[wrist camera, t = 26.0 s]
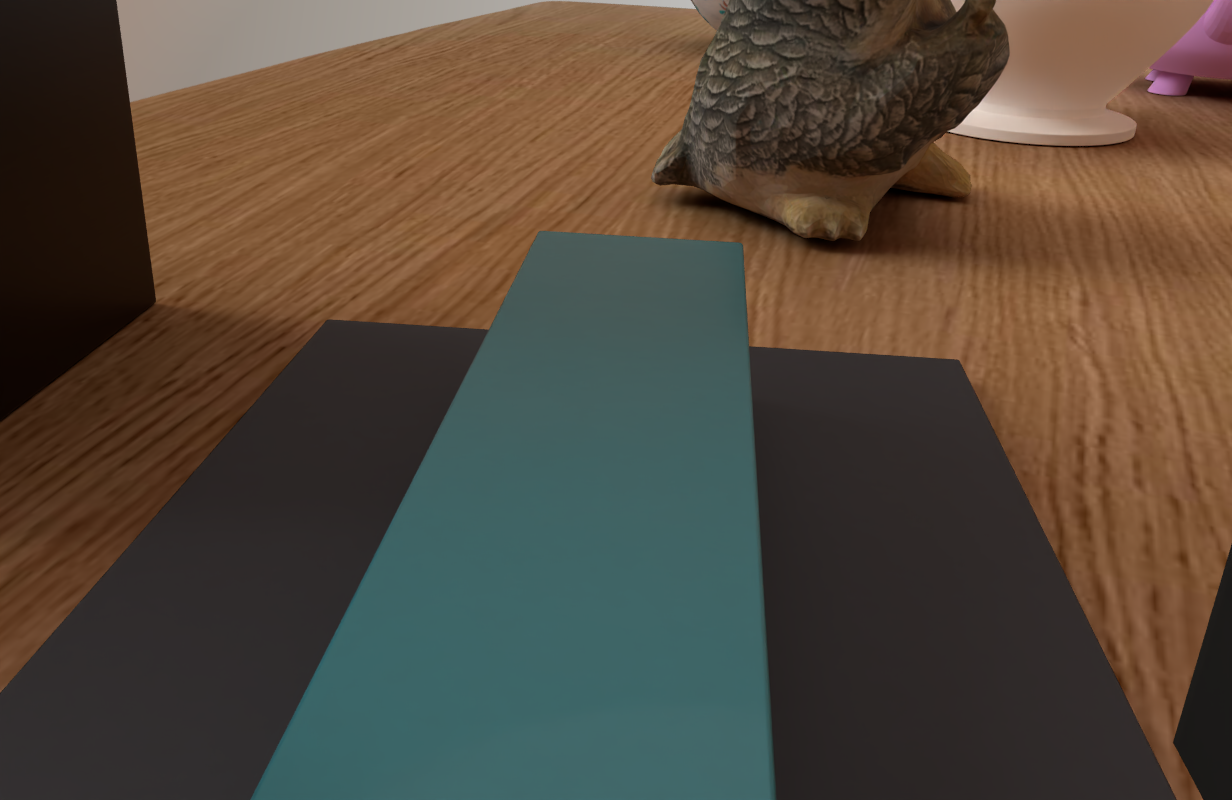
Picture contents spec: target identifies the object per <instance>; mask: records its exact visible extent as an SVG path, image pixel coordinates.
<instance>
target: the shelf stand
mask: <svg viewBox="0 0 1232 800" xmlns="http://www.w3.org/2000/svg"><path fill="white" fill-rule="evenodd" d="M155 302H156V297H155V289H154V282H153V274H152V267H151V259H150V252H149V244H148V236H147V229H146V221H145V214H144V206H143V199H142V191H141V183H140V176H139V168H138V161H137V153H136V146H135V138H134V131H133V123H132V115H131V108H130V101H129V93H128V85H127V78H126V70H125V62H124V56H123V47H122V40H121V32H120V25H119V18H118V10H117V2H116V0H0V420H1V419H3V418H4V417H5V416H7V415H8V414H9V413H11V412H12V411H13V410H15V409H16V408H17V407H19V406H20V405H21V404H22V403H24V402H25V401H26V400H28V399H29V398H30V397H32V396H33V395H34V394H36V393H37V392H38V391H40V390H41V389H42V388H43V387H45V386H46V385H47V384H49V383H50V382H51V381H53V380H54V379H55V378H57V377H58V376H59V375H61V374H62V373H63V372H64V371H66V370H67V369H68V368H70V367H71V366H72V365H74V364H75V363H76V362H78V361H79V360H80V359H82V358H83V357H84V356H85V355H87V354H88V353H89V352H91V351H92V350H93V349H95V348H96V347H97V346H99V345H100V344H101V343H103V342H104V341H105V340H107V339H108V338H109V337H110V336H112V335H113V334H114V333H116V332H117V331H118V330H120V329H121V328H122V327H124V326H125V325H126V324H128V323H129V322H130V321H131V320H133V319H134V318H135V317H137V316H138V315H139V314H141V313H142V312H143V311H145V310H146V309H147V308H149V307H150V306H151V305H152V304H154V303H155Z"/></svg>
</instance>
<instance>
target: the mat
mask: <svg viewBox="0 0 1232 800" xmlns="http://www.w3.org/2000/svg"><path fill="white" fill-rule="evenodd" d="M488 331H489V330H485V329H469V328H453V327H438V326H422V325H406V324H391V323H375V322H360V321H344V320H327V321H326V322H325V323H324V324H323V325H322V326H321V328H320V329H319V330H318V331H317V332H316V333H315V334H314V336H313V337H312V338H311V339H310V340H309V341H308V342H307V344H306V345H305V346H304V347H303V348H302V349H301V350H300V352H299V353H298V354H297V355H296V356H295V357H294V358H293V360H292V361H291V362H290V363H289V364H288V365H287V366H286V367H285V369H284V370H283V371H282V372H281V373H280V374H279V375H278V377H277V378H276V379H275V380H274V381H273V382H272V383H271V385H270V386H269V387H268V388H267V389H266V390H265V391H264V393H263V394H262V395H261V396H260V397H259V398H258V399H257V401H256V402H255V403H254V404H253V405H252V406H251V407H250V409H249V410H248V411H247V412H246V413H245V414H244V415H243V417H242V418H241V419H240V420H239V421H238V422H237V423H236V425H235V426H234V427H233V428H232V429H231V430H230V431H229V433H228V434H227V435H226V436H225V437H224V438H223V439H222V441H221V442H220V443H219V444H218V445H217V446H216V447H215V449H214V450H213V451H212V452H211V453H210V454H209V455H208V457H207V458H206V459H205V460H204V461H203V462H202V463H201V465H200V466H199V467H198V468H197V469H196V470H195V471H194V472H193V474H192V475H191V476H190V477H189V478H188V479H187V480H186V482H185V483H184V484H183V485H182V486H181V487H180V488H179V490H178V491H177V492H176V493H175V494H174V495H173V496H172V498H171V499H170V500H169V501H168V502H167V503H166V504H165V506H164V507H163V508H162V509H161V510H160V511H159V512H158V514H157V515H156V516H155V517H154V518H153V519H152V520H151V522H150V523H149V524H148V525H147V526H146V527H145V528H144V530H143V531H142V532H141V533H140V534H139V535H138V536H137V538H136V539H135V540H134V541H133V542H132V543H131V544H130V546H129V547H128V548H127V549H126V550H125V551H124V552H123V554H122V555H121V556H120V557H119V558H118V559H117V560H116V562H115V563H114V564H113V565H112V566H111V567H110V568H109V570H108V571H107V572H106V573H105V574H104V575H103V576H102V578H101V579H100V580H99V581H98V582H97V583H96V584H95V585H94V587H93V588H92V589H91V590H90V591H89V592H88V593H87V595H86V596H85V597H84V598H83V599H82V600H81V601H80V603H79V604H78V605H77V606H76V607H75V608H74V609H73V611H72V612H71V613H70V614H69V615H68V616H67V617H66V619H65V620H64V621H63V622H62V623H61V624H60V625H59V627H58V628H57V629H56V630H55V631H54V632H53V633H52V635H51V636H50V637H49V638H48V639H47V640H46V641H45V643H44V644H43V645H42V646H41V647H40V648H39V649H38V651H37V652H36V653H35V654H34V655H33V656H32V657H31V659H30V660H29V661H28V662H27V663H26V664H25V665H24V667H23V668H22V669H21V670H20V671H19V672H18V673H17V675H16V676H15V677H14V678H13V679H12V680H11V681H10V683H9V684H8V685H7V686H6V687H5V688H4V689H3V690H2V692H1V693H0V800H250V799H251V797H252V796H253V794H254V792H255V790H256V788H257V786H258V784H259V782H260V780H261V778H262V776H263V774H264V772H265V770H266V768H267V766H268V764H269V762H270V760H271V758H272V756H273V754H274V752H275V750H276V748H277V746H278V744H279V742H280V740H281V738H282V736H283V734H284V732H285V731H286V729H287V727H288V725H289V723H290V721H291V719H292V717H293V715H294V713H295V711H296V709H297V707H298V705H299V703H300V701H301V699H302V697H303V695H304V693H305V691H306V689H307V687H308V685H309V683H310V681H311V679H312V677H313V675H314V673H315V671H316V669H317V667H318V665H319V664H320V662H321V660H322V658H323V656H324V654H325V652H326V650H327V648H328V646H329V644H330V642H331V640H332V638H333V636H334V634H335V632H336V630H337V628H338V626H339V624H340V622H341V620H342V618H343V616H344V614H345V612H346V610H347V608H348V606H349V604H350V602H351V600H352V599H353V597H354V595H355V593H356V591H357V589H358V587H359V585H360V583H361V581H362V579H363V577H364V575H365V573H366V571H367V569H368V567H369V565H370V563H371V561H372V559H373V557H374V555H375V553H376V551H377V549H378V547H379V545H380V543H381V541H382V539H383V537H384V535H385V533H386V532H387V530H388V528H389V526H390V524H391V522H392V520H393V518H394V516H395V514H396V512H397V510H398V508H399V506H400V504H401V502H402V500H403V498H404V496H405V494H406V492H407V490H408V488H409V486H410V484H411V482H412V480H413V478H414V476H415V474H416V472H417V470H418V468H419V467H420V465H421V463H422V461H423V459H424V457H425V455H426V453H427V451H428V449H429V447H430V445H431V443H432V441H433V439H434V437H435V435H436V433H437V431H438V429H439V427H440V425H441V423H442V421H443V419H444V417H445V415H446V413H447V411H448V409H449V407H450V405H451V403H452V401H453V400H454V398H455V396H456V394H457V392H458V390H459V388H460V386H461V384H462V382H463V380H464V378H465V376H466V374H467V372H468V370H469V368H470V366H471V364H472V362H473V360H474V358H475V356H476V354H477V352H478V350H479V348H480V346H481V344H482V342H483V340H484V338H485V336H486V335H487V333H488ZM749 354H750V370H751V387H752V403H753V420H754V436H755V452H756V469H757V485H758V502H759V518H760V535H761V551H762V568H763V584H764V601H765V617H766V634H767V650H768V667H769V683H770V700H771V716H772V733H773V749H774V766H775V782H776V799H777V800H1176V797H1175V795H1174V793H1173V791H1172V789H1171V787H1170V785H1169V783H1168V781H1167V779H1166V777H1165V775H1164V773H1163V771H1162V769H1161V767H1160V765H1159V763H1158V761H1157V759H1156V757H1155V755H1154V753H1153V751H1152V749H1151V747H1150V745H1149V743H1148V741H1147V739H1146V737H1145V735H1144V733H1143V731H1142V729H1141V727H1140V725H1139V723H1138V721H1137V719H1136V717H1135V715H1134V713H1133V711H1132V709H1131V707H1130V705H1129V703H1128V701H1127V698H1126V696H1125V694H1124V692H1123V690H1122V688H1121V686H1120V684H1119V682H1118V680H1117V678H1116V676H1115V674H1114V672H1113V670H1112V668H1111V666H1110V664H1109V662H1108V660H1107V658H1106V656H1105V654H1104V652H1103V650H1102V648H1101V646H1100V644H1099V642H1098V640H1097V638H1096V636H1095V634H1094V632H1093V630H1092V628H1091V626H1090V624H1089V622H1088V620H1087V618H1086V616H1085V614H1084V612H1083V610H1082V608H1081V606H1080V604H1079V602H1078V599H1077V597H1076V595H1075V593H1074V591H1073V589H1072V587H1071V585H1070V583H1069V581H1068V579H1067V577H1066V575H1065V573H1064V571H1063V569H1062V567H1061V565H1060V563H1059V561H1058V559H1057V557H1056V555H1055V553H1054V551H1053V549H1052V547H1051V545H1050V543H1049V541H1048V539H1047V537H1046V535H1045V533H1044V531H1043V529H1042V527H1041V525H1040V523H1039V521H1038V519H1037V517H1036V515H1035V513H1034V511H1033V509H1032V507H1031V505H1030V503H1029V500H1028V498H1027V496H1026V494H1025V492H1024V490H1023V488H1022V486H1021V484H1020V482H1019V480H1018V478H1017V476H1016V474H1015V472H1014V470H1013V468H1012V466H1011V464H1010V462H1009V460H1008V458H1007V456H1006V454H1005V452H1004V450H1003V448H1002V446H1001V444H1000V442H999V440H998V438H997V436H996V434H995V432H994V430H993V428H992V426H991V424H990V422H989V420H988V418H987V416H986V414H985V412H984V410H983V408H982V406H981V404H980V401H979V399H978V397H977V395H976V393H975V391H974V389H973V387H972V385H971V383H970V381H969V379H968V377H967V375H966V373H965V371H964V369H963V367H962V365H961V363H960V361H959V360H954V359H938V358H923V357H907V356H891V355H876V354H860V353H844V352H829V351H813V350H797V349H782V348H766V347H750V346H749Z"/></svg>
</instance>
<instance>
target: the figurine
mask: <svg viewBox="0 0 1232 800" xmlns="http://www.w3.org/2000/svg"><path fill="white" fill-rule="evenodd" d="M995 3H996V0H965V2H964V4H963V5H962V7H961V8H960V9H959V10H958V11H957V12H956V10H955V8H954V6H953V4H952V2H951V0H729V3H728V6H727V8H726V11H725V13H724V15H723V18H722V20H721V24H720V26H719V28H718V30H717V32H716V34H715V36H714V38H713V40H712V42H711V43H710V45H709V47H708V49H707V50H706V52H705V54H704V56H703V57H702V59H701V62H700V66H699V69H698V73H697V76H696V81H695V86H694V90H693V95H692V99H691V103H690V107H689V110H688V112H687V114H686V117H685V120H684V124H683V127H682V130H681V131H680V132H679V133H678V134H677V135H676V136H674V137H673V138H672V139H671V141H670V142H669V143H668V144H667V145H666V146H665V148H664V150H663V151H662V154H661V156H660V157H659V159H658V160H657V162H656V165H655V167H654V170H653V173H652V177H651V179H652V181H653V182H654V183H656V184H658V185H670V184H677V185H687V186H694V187H697V188H700V189H703V190H705V191H707V192H708V193H710V194H712V195H714V196H716V197H718V198H720V199H722V200H724V201H726V202H729V203H731V204H734V205H737V206H739V207H742V208H744V209H747V210H750V211H752V212H755V213H758V214H760V215H763V216H765V217H768V218H770V219H773V220H775V221H777V222H779V223H781V224H783V225H785V226H787V227H788V228H789V229H790V230H791V231H792V232H793V233H795V234H797V235H799V236H801V237H803V238H811V237H816V238H822V239H825V240H830V241H835V240H836V239H838V238H845V239H851V240H856V241H860V240H861V239H862V237H863V236H864V234H865V232H866V231H867V227H868V221H869V214H870V212H871V210H872V209H873V207H874V206H875V205H876V204H877V202H878V201H879V200H880V199H881V198H882V197H883V196H884V194H885V193H886V192H887V191H888V190H889V189H890V188H896V189H902V190H908V191H914V192H922V193H932V194H938V195H944V196H949V197H955V198H959V197H964V196H966V195H968V194H970V191H971V187H972V185H971V182H970V175H969V173H968V172H967V171H966V170H965V168H964V167H963V166H962V165H961V164H960V163H959V162H957V161H956V160H955V159H953V158H952V157H950V156H949V155H947V154H946V153H944V152H943V151H942V150H941V149H940V148H938V147H937V146H936V145H935V144H934V143H933V142H934V141H936V140H937V139H939V138H941V137H942V136H943V135H944V134H945V132H946V131H949V130H951V129H954V128H956V127H957V126H958V125H959V124H961V123H962V122H963V120H964V119H965V118H966V117H967V116H968V114H969V113H970V112H971V111H972V110H973V109H975V108H976V107H977V106H978V105H979V104H980V102H981V101H982V99H983V98H984V97H985V96H986V95H987V93H988V92H989V91H990V89H991V88H992V87H993V85H994V84H995V83H996V81H997V80H998V78H999V77H1000V75H1001V73H1002V72H1003V70H1004V68H1005V66H1006V65H1007V62H1008V59H1009V56H1010V48H1009V41H1008V33H1007V30H1006V27H1005V24H1004V23H1003V22H1002V20H1001V19H1000V18H999V16H998V15H997V14H996V13H995V11H994V10H993V8H994V5H995Z"/></svg>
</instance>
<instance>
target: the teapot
mask: <svg viewBox="0 0 1232 800" xmlns="http://www.w3.org/2000/svg"><path fill="white" fill-rule="evenodd" d="M1149 68H1150V69H1153V70H1152V71H1151V72H1150V73H1149V74H1148V76H1147V77H1146V78H1145V79H1147V80H1151V81H1154V82H1153V83H1152V85H1151V86H1150V87H1149V89H1148V90H1147V91H1149V92H1152V93H1156V94H1163V95H1186V93H1187V91H1188V89H1189V86H1190V84H1191V82H1192V79H1193V77H1194V76H1200V77H1209V78H1220V79H1231V80H1232V0H1214V1H1213V2H1212V4H1211V5H1210V7H1209V8H1208V9H1207V11H1206V12H1205V13H1204V14H1203V16H1202V17H1201V18H1200V19H1199V20H1198V21H1197V22H1196V23H1195V25H1194V26H1193V27H1192V28H1191V29H1190V30H1189V31H1188V32H1187V33H1186V34H1185V35H1184V36H1183V37H1182V38H1181V39H1180V40H1179V41H1178V42H1177V43H1176V44H1174V45H1173V46H1172V47H1171V48H1170V49H1169V50H1168V51H1167V52H1166V53H1165V54H1164V55H1163V56H1162V57H1160V58H1159V59H1158V60H1157V61H1156V62H1155V63H1154V64H1153V65H1151V66H1150V67H1149Z"/></svg>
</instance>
